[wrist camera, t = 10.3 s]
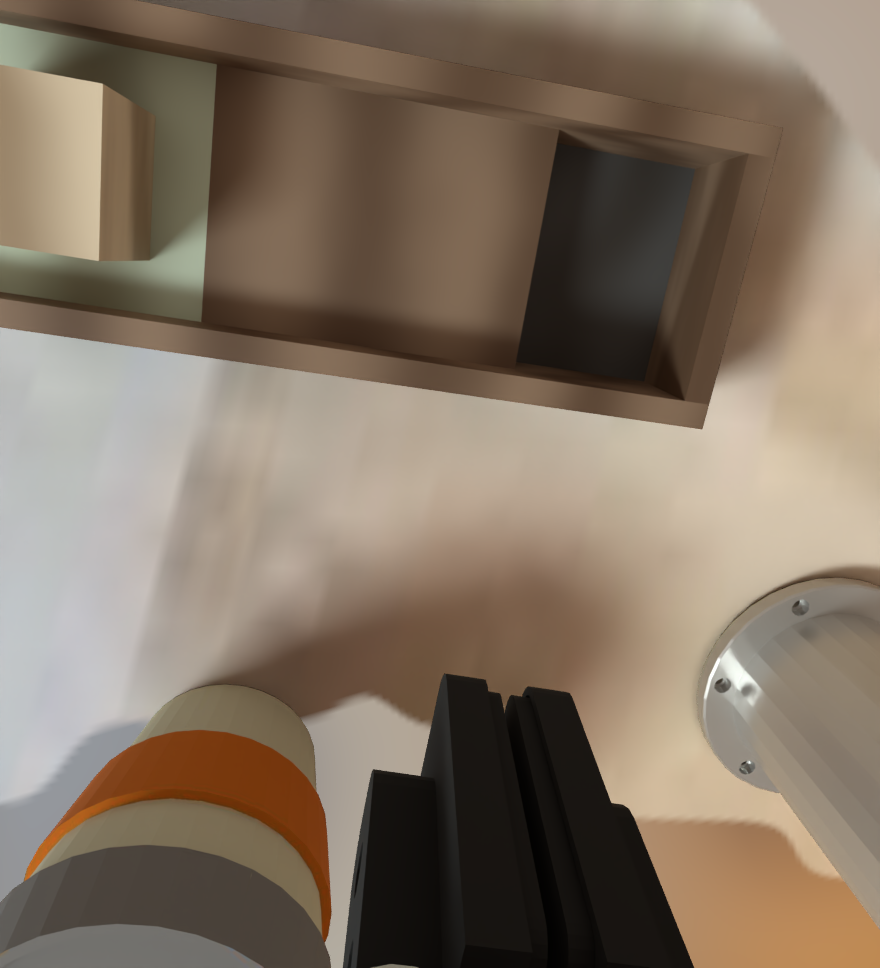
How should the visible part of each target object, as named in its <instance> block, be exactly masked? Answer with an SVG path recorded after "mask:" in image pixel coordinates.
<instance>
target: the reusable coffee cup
mask: <svg viewBox="0 0 880 968" xmlns="http://www.w3.org/2000/svg"><path fill="white" fill-rule="evenodd" d="M330 919H331V896H330V878H329V860H328V842H327V828H326V818H325V813H324V809H323V807H322V804H321V801H320V798H319V795H318V794H317V792H316V775H315V755H314V746H313V743H312V740H311V737H310V734H309V732H308V730H307V728H306V727H305V725H304V723H303V722H302V720H301V719H300V718H299V717H298V716H297V715H296V714H295V712H294V711H293V710H292V709H291V708H290V707H288V706H287V705H285V704H284V703H283V702H281V701H280V700H278V699H277V698H275V697H273V696H271V695H269V694H267V693H265V692H262V691H260V690H256V689H253V688H249V687H245V686H237V685H227V684H225V685H210V686H205V687H201V688H197V689H193V690H190V691H188V692H186V693H183V694H181V695H179V696H177V697H175V698H174V699H172V700H171V701H170V702H168V703H167V704H165V705H164V706H163V707H162V708H161V709H160V710H159V711H158V712H157V713H156V714H155V715H154V716H153V718H152V719H151V720H150V721H149V723H148V724H147V725H146V727H145V728H144V729H143V731H142V732H141V733H140V735H139V736H138V737H137V738H136V740H135V741H134V742H133V744H132V745H131V746H130V747H129V748H127V749H126V750H125V751H123V752H122V753H120V754H119V755H117V756H116V757H114V758H113V759H111V760H110V761H109V762H108V763H107V764H106V765H105V767H104V768H103V769H102V770H101V771H100V772H99V773H98V774H97V775H96V776H95V777H94V779H93V780H92V781H91V782H90V784H89V785H88V786H87V788H86V789H85V790H84V791H83V792H82V794H81V795H80V796H79V798H78V799H77V800H76V801H75V803H74V804H73V805H72V806H71V808H70V809H69V810H68V811H67V813H66V814H65V815H64V816H63V818H62V819H61V820H60V822H59V823H58V824H57V825H56V826H55V828H54V829H53V830H52V831H51V833H50V834H49V835H48V837H47V838H46V839H45V840H44V842H43V843H42V844H41V845H40V847H39V848H38V850H37V852H36V854H35V855H34V857H33V859H32V861H31V862H30V864H29V866H28V868H27V871H26V874H25V878H24V882H23V883H21V884H20V885H18V886H17V887H15V888H14V889H13V890H12V891H11V892H10V893H9V894H8V895H7V896H6V897H5V898H4V899H3V900H2V901H1V902H0V968H331V964H330V957H329V954H328V951H327V949H326V946H325V941H326V939H327V936H328V932H329V926H330Z"/></svg>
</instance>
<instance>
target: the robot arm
mask: <svg viewBox="0 0 880 968" xmlns="http://www.w3.org/2000/svg"><path fill="white" fill-rule="evenodd" d="M697 711H698V719H699V723H700V726H701V729H702V732H703V735H704V737H705V739H706V740H707V742H708V744H709V745H710V747H711V749H712V750H713V752H714V754H715V755H716V756H717V757H718V759H719V760H720V761H721V763H722V764H723V765H724V766H725V768H727V769H728V770H729V771H730V772H731V773H732V774H734V775H735V776H736V777H737V778H739V779H741V780H743V781H745V782H747V783H749V784H751V785H753V786H755V787H757V788H760V789H764V790H767V791H771V792H775V793H780V794H781V795H782V796H783V798H784V799H785V801H786V802H787V803H788V805H789V806H790V807H791V809H792V810H793V812H794V813H795V814H796V816H797V817H798V818H799V820H800V821H801V822H802V824H803V825H804V827H805V828H806V829H807V831H808V832H809V833H810V835H811V836H812V837H813V839H814V840H815V842H816V843H817V844H818V846H819V847H820V848H821V850H822V851H823V853H824V854H825V855H826V857H827V858H828V859H829V861H830V862H831V863H832V865H833V866H834V868H835V869H836V870H837V872H838V873H839V874H840V876H841V877H842V878H843V880H844V881H845V883H846V884H847V885H848V887H849V888H850V889H851V891H852V892H853V894H854V895H855V896H856V897H857V899H858V900H859V902H860V903H861V904H862V906H863V907H864V908H865V910H866V911H867V913H868V914H869V915H870V917H871V918H872V919H873V921H874V922H875V924H876V925H877V926H878V928H879V929H880V586H877V585H874V584H871V583H868V582H865V581H862V580H855V579H847V578H824V579H814V580H810V581H806V582H802V583H797V584H793V585H791V586H788V587H786V588H784V589H781V590H779V591H776V592H774V593H772V594H770V595H768V596H767V597H765V598H763V599H762V600H760V601H759V602H757V603H755V604H754V605H752V606H750V607H749V608H748V609H747V610H746V611H745V612H744V613H742V614H741V615H740V616H739V617H738V618H737V619H735V620H734V621H733V622H732V623H731V624H730V626H729V627H728V628H727V629H726V630H725V632H724V633H723V634H722V635H721V636H720V638H719V639H718V640H717V642H716V643H715V645H714V647H713V649H712V650H711V652H710V654H709V656H708V657H707V659H706V662H705V665H704V667H703V670H702V673H701V676H700V679H699V685H698V692H697ZM343 968H694V966H693V964H692V961H691V959H690V956H689V954H688V951H687V949H686V946H685V944H684V941H683V939H682V936H681V934H680V932H679V929H678V927H677V924H676V922H675V919H674V916H673V914H672V911H671V909H670V906H669V904H668V902H667V899H666V896H665V894H664V892H663V889H662V886H661V884H660V881H659V879H658V877H657V874H656V871H655V869H654V867H653V864H652V862H651V859H650V857H649V854H648V852H647V849H646V847H645V844H644V842H643V839H642V837H641V834H640V832H639V829H638V827H637V824H636V822H635V819H634V817H633V815H632V814H631V812H630V810H629V809H628V808H627V807H625V806H624V805H621V804H614V803H611V801H610V798H609V796H608V793H607V790H606V788H605V785H604V782H603V779H602V777H601V774H600V771H599V769H598V766H597V763H596V761H595V758H594V755H593V752H592V750H591V747H590V744H589V742H588V739H587V736H586V733H585V731H584V728H583V725H582V723H581V720H580V717H579V715H578V712H577V709H576V706H575V704H574V701H573V698H572V696H571V695H570V693H567V692H561V691H555V690H548V689H542V688H535V687H529V686H528V687H527V688H526V689H525V691H524V693H523V696H522V697H521V696H514V695H511V696H510V697H509V700H508V702H507V706H506V710H505V714H504V708H503V703H502V698H501V695H500V694H499V693H494V692H488V687H487V683H486V680H483V679H477V678H470V677H464V676H457V675H451V674H444V675H443V677H442V680H441V684H440V688H439V693H438V697H437V702H436V707H435V711H434V716H433V721H432V725H431V730H430V735H429V739H428V744H427V749H426V753H425V758H424V763H423V767H422V772H421V776H416V775H409V774H402V773H395V772H387V771H381V770H373V771H372V774H371V778H370V782H369V787H368V792H367V798H366V803H365V808H364V813H363V818H362V824H361V829H360V835H359V841H358V847H357V854H356V860H355V868H354V874H353V882H352V890H351V898H350V907H349V917H348V926H347V935H346V944H345V953H344V962H343Z"/></svg>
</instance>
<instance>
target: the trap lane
mask: <svg viewBox="0 0 880 968" xmlns="http://www.w3.org/2000/svg"><path fill="white" fill-rule="evenodd" d="M0 65H5V66H11V67H16V68H21V69H27V70H32V71H37V72H43V73H48V74H53V75H59V76H64V77H69V78H75V79H80V80H86V81H91V82H96V83H102V84H104V85H106V86H107V87H109V88H111V89H112V90H114V91H116V92H117V93H119V94H120V95H122V96H124V97H125V98H127V99H129V100H130V101H132V102H134V103H135V104H137V105H138V106H140V107H142V108H143V109H145V110H147V111H148V112H150V113H152V114H153V115H155V116H156V121H155V145H154V169H153V193H152V217H151V240H150V261H95V260H89V259H83V258H76V257H70V256H64V255H58V254H51V253H45V252H39V251H33V250H26V249H20V248H14V247H8V246H1V245H0V327H2V328H9V329H16V330H23V331H30V332H37V333H44V334H50V335H57V336H64V337H71V338H78V339H85V340H92V341H99V342H105V343H112V344H119V345H126V346H133V347H140V348H147V349H154V350H160V351H167V352H174V353H181V354H188V355H195V356H202V357H209V358H215V359H222V360H229V361H236V362H243V363H250V364H257V365H264V366H270V367H277V368H284V369H291V370H298V371H305V372H312V373H319V374H325V375H332V376H339V377H346V378H353V379H360V380H367V381H374V382H380V383H387V384H394V385H401V386H408V387H415V388H422V389H429V390H435V391H442V392H449V393H456V394H463V395H470V396H477V397H483V398H490V399H497V400H504V401H511V402H518V403H525V404H532V405H538V406H545V407H552V408H559V409H566V410H573V411H580V412H587V413H593V414H600V415H607V416H614V417H621V418H628V419H635V420H642V421H648V422H655V423H662V424H669V425H676V426H683V427H690V428H697V429H702V428H703V425H704V421H705V417H706V414H707V410H708V406H709V402H710V399H711V395H712V391H713V388H714V384H715V380H716V376H717V373H718V369H719V365H720V362H721V358H722V354H723V350H724V347H725V343H726V339H727V336H728V332H729V328H730V324H731V321H732V317H733V313H734V310H735V306H736V302H737V298H738V295H739V291H740V287H741V284H742V280H743V276H744V272H745V269H746V265H747V261H748V258H749V254H750V250H751V246H752V243H753V239H754V235H755V232H756V228H757V224H758V220H759V217H760V213H761V209H762V206H763V202H764V198H765V194H766V191H767V187H768V183H769V180H770V176H771V172H772V168H773V165H774V161H775V157H776V154H777V150H778V146H779V142H780V139H781V135H782V131H783V128H781V127H775V126H770V125H765V124H760V123H755V122H750V121H745V120H740V119H735V118H730V117H725V116H720V115H715V114H710V113H705V112H700V111H694V110H689V109H684V108H679V107H674V106H669V105H664V104H659V103H654V102H649V101H644V100H639V99H634V98H629V97H624V96H618V95H613V94H608V93H603V92H598V91H593V90H588V89H583V88H578V87H573V86H568V85H563V84H558V83H553V82H548V81H542V80H537V79H532V78H527V77H522V76H517V75H512V74H507V73H502V72H497V71H492V70H487V69H482V68H477V67H472V66H466V65H461V64H456V63H451V62H446V61H441V60H436V59H431V58H426V57H421V56H416V55H411V54H406V53H401V52H396V51H390V50H385V49H380V48H375V47H370V46H365V45H360V44H355V43H350V42H345V41H340V40H335V39H330V38H325V37H320V36H314V35H309V34H304V33H299V32H294V31H289V30H284V29H279V28H274V27H269V26H264V25H259V24H254V23H249V22H244V21H238V20H233V19H228V18H223V17H218V16H213V15H208V14H203V13H198V12H193V11H188V10H183V9H178V8H173V7H168V6H162V5H157V4H152V3H147V2H142V1H137V0H0Z"/></svg>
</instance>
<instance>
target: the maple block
mask: <svg viewBox="0 0 880 968" xmlns="http://www.w3.org/2000/svg"><path fill="white" fill-rule="evenodd" d="M155 121H156V116H155V115H153V114H152V113H150V112H148V111H147V110H145V109H143V108H142V107H140V106H138V105H137V104H135V103H134V102H132V101H130V100H129V99H127V98H125V97H124V96H122V95H120V94H119V93H117V92H116V91H114V90H112V89H111V88H109V87H107V86H106V85H104V84H102V83H96V82H91V81H86V80H80V79H75V78H69V77H64V76H59V75H53V74H48V73H43V72H37V71H32V70H27V69H21V68H16V67H11V66H5V65H0V245H1V246H8V247H14V248H20V249H26V250H33V251H39V252H45V253H51V254H58V255H64V256H70V257H76V258H83V259H89V260H95V261H150V240H151V217H152V193H153V169H154V145H155Z"/></svg>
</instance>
